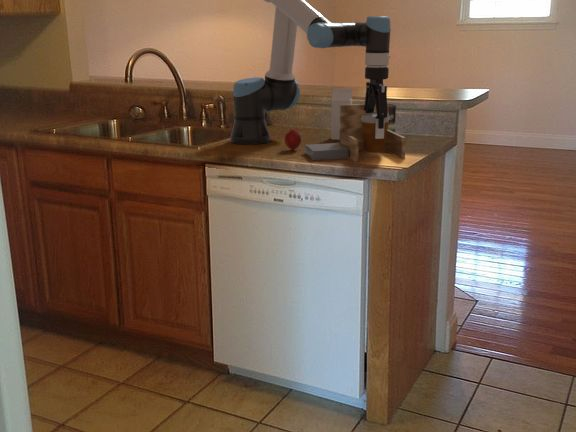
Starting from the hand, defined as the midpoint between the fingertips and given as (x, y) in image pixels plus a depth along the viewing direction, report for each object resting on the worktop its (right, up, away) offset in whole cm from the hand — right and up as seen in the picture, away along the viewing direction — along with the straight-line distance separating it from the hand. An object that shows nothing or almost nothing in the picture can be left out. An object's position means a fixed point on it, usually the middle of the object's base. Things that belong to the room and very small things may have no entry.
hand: (374, 135), depth 218 cm
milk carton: (-8, +3, +36) cm, 37 cm away
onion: (-27, -4, +15) cm, 31 cm away
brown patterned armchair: (0, -6, +5) cm, 8 cm away
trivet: (-16, -6, +5) cm, 18 cm away
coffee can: (+6, 0, +25) cm, 26 cm away
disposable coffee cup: (0, -5, +2) cm, 5 cm away
